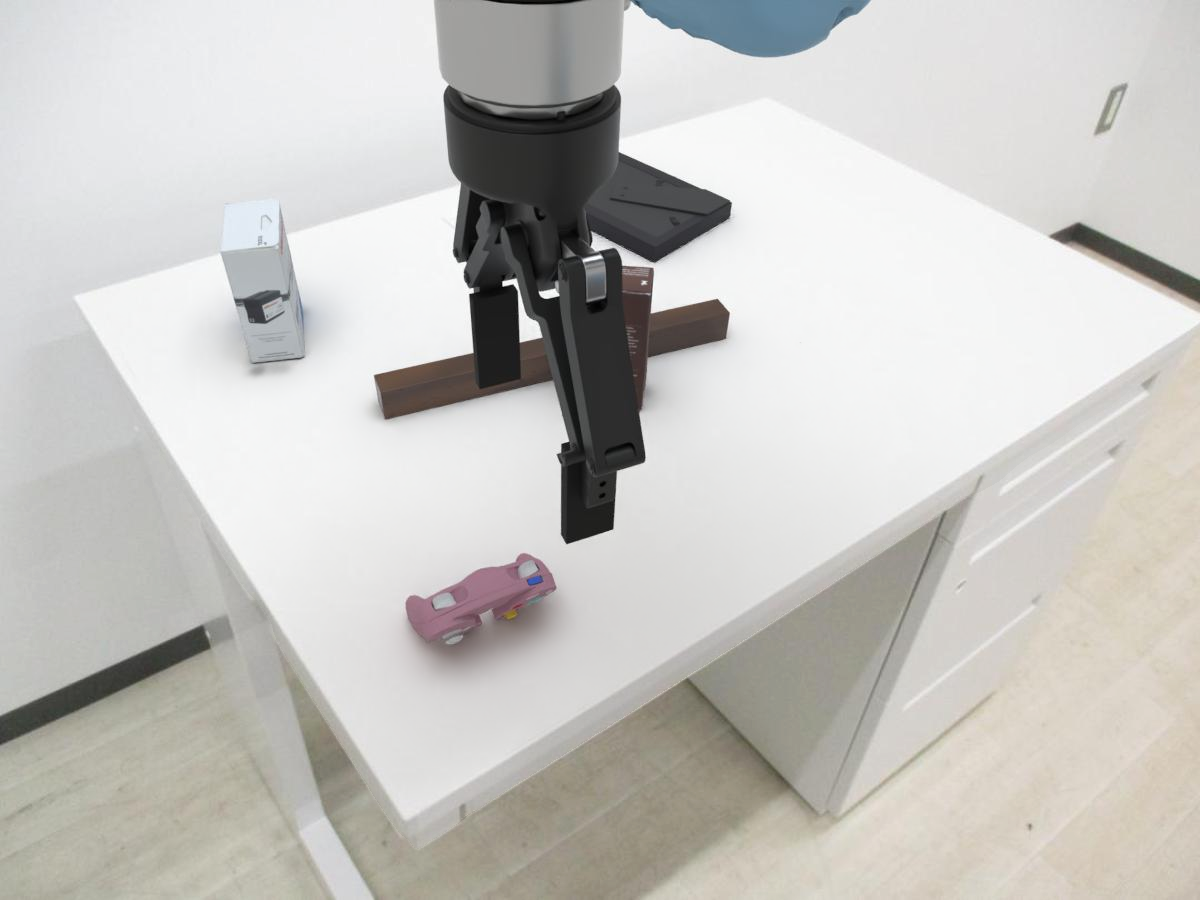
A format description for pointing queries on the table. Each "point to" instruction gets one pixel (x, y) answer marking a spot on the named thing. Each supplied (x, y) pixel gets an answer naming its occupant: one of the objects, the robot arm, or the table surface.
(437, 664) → the table surface
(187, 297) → the table surface
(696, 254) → the table surface
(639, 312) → the box
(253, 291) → the ink box
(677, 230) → the picture frame
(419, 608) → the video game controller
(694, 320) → the straight edge
